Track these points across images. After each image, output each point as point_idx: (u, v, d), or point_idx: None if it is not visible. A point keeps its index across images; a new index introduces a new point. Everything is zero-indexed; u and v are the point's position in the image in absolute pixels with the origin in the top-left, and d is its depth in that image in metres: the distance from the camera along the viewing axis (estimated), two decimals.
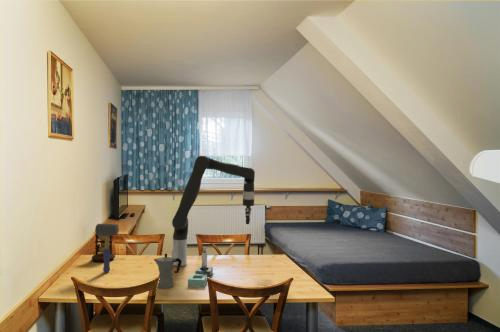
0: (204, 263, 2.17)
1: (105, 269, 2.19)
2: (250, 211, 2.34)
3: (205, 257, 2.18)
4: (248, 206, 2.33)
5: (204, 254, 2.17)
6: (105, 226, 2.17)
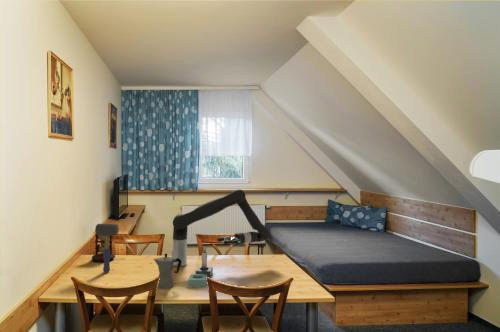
0: (204, 263, 2.17)
1: (105, 269, 2.19)
2: (234, 243, 2.27)
3: (205, 257, 2.18)
4: None
5: (204, 254, 2.17)
6: (105, 226, 2.17)
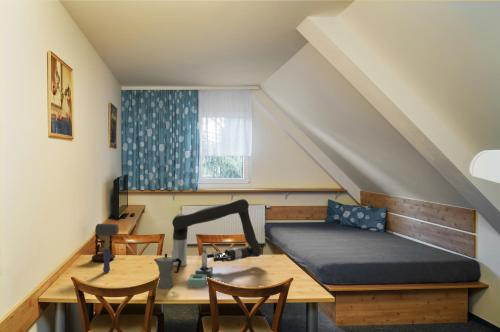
0: (204, 263, 2.17)
1: (105, 269, 2.19)
2: (224, 260, 2.24)
3: (205, 257, 2.18)
4: None
5: (204, 254, 2.17)
6: (105, 226, 2.17)
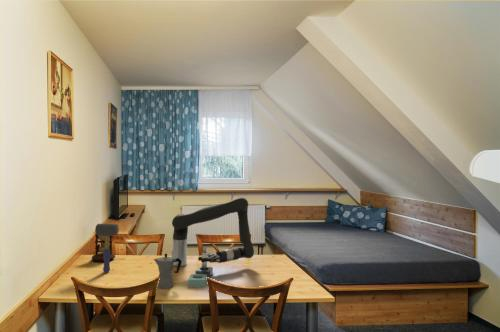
0: (204, 263, 2.17)
1: (105, 269, 2.19)
2: (214, 261, 2.20)
3: (205, 257, 2.18)
4: (220, 258, 2.21)
5: (204, 254, 2.17)
6: (105, 226, 2.17)
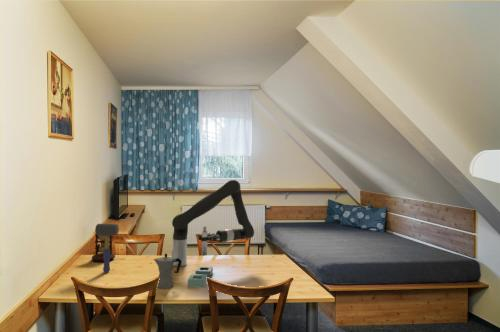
0: (204, 242, 2.16)
1: (105, 269, 2.19)
2: (214, 240, 2.19)
3: (205, 236, 2.16)
4: (221, 238, 2.20)
5: (204, 233, 2.16)
6: (105, 226, 2.17)
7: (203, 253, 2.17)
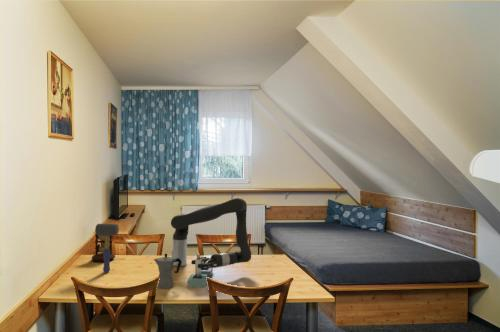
0: (198, 271, 2.03)
1: (105, 269, 2.19)
2: (209, 266, 2.05)
3: None
4: None
5: (198, 261, 2.02)
6: (105, 226, 2.17)
7: None
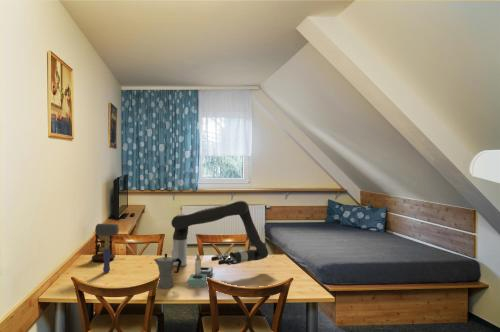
0: (198, 271, 2.03)
1: (105, 269, 2.19)
2: (229, 262, 2.12)
3: (199, 264, 2.03)
4: None
5: (198, 261, 2.02)
6: (105, 226, 2.17)
7: None
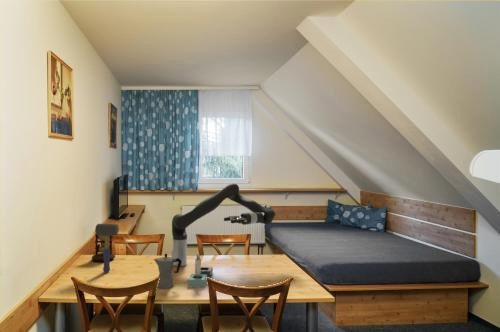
0: (198, 271, 2.03)
1: (105, 269, 2.19)
2: (240, 222, 2.31)
3: (199, 264, 2.03)
4: None
5: (198, 261, 2.02)
6: (105, 226, 2.17)
7: None
